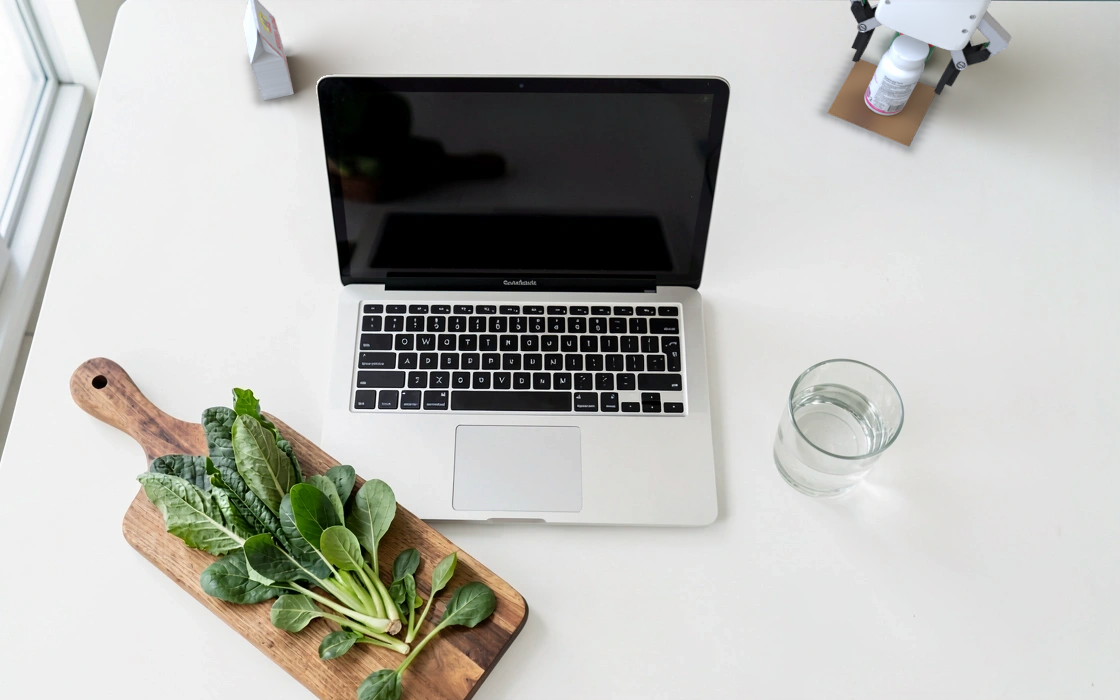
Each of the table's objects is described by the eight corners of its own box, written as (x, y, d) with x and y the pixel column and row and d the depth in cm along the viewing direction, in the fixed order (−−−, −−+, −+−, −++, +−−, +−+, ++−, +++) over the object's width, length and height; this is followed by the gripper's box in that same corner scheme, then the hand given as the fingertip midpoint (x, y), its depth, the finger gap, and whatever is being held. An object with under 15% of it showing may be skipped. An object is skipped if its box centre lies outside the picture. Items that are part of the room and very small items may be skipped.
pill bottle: (869, 81, 108) (896, 25, 101) (908, 94, 107) (938, 39, 100) (858, 108, 106) (884, 54, 99) (897, 122, 105) (927, 68, 98)
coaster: (936, 91, 108) (937, 89, 108) (907, 148, 104) (909, 146, 104) (856, 60, 110) (858, 57, 110) (826, 115, 106) (827, 112, 106)
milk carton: (263, 102, 108) (241, 37, 99) (256, 61, 110) (233, -6, 101) (294, 96, 108) (274, 30, 99) (286, 55, 111) (265, -12, 102)
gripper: (1067, -56, 86) (984, 77, 102) (894, -115, 90) (839, 21, 106) (1045, -7, 84) (963, 121, 99) (867, -71, 87) (815, 63, 103)
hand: (899, 69), depth 102 cm, fingers open, 9 cm apart
